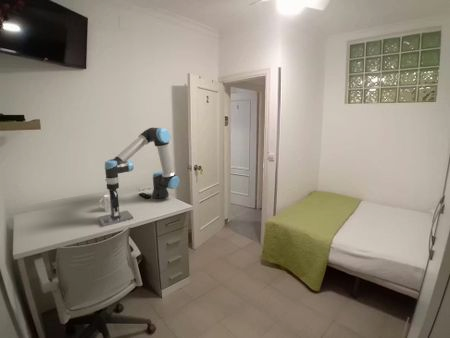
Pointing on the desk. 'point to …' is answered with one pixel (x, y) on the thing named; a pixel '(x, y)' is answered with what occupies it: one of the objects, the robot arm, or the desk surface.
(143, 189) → the desk surface
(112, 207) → the plug
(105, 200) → the mug
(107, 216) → the socket plate
